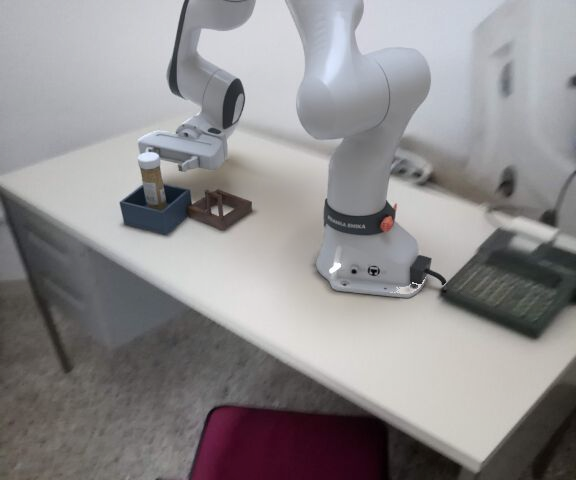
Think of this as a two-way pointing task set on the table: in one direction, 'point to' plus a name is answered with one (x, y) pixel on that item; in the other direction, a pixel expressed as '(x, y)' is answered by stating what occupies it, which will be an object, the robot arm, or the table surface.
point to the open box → (153, 219)
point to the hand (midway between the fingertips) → (162, 164)
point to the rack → (219, 209)
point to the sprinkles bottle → (152, 180)
